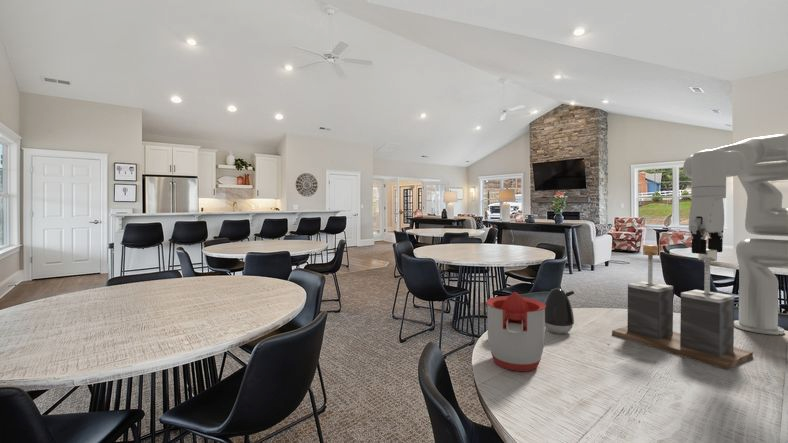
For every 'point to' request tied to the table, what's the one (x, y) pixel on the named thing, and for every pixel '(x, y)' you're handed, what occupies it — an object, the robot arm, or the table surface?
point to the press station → (684, 324)
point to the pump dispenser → (558, 311)
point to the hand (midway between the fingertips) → (707, 252)
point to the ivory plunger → (708, 267)
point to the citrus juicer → (516, 331)
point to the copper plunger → (650, 259)
